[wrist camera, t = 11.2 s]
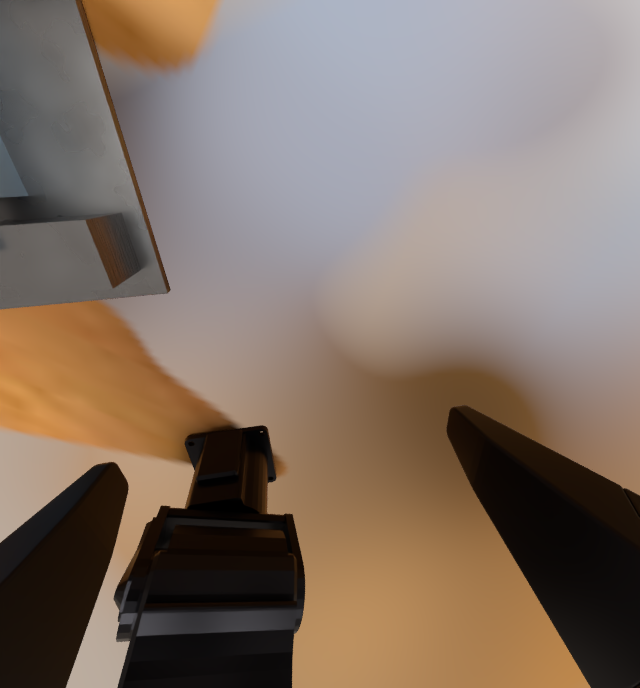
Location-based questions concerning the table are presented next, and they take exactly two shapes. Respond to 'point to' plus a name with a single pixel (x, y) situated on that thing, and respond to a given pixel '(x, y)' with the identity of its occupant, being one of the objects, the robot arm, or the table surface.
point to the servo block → (9, 176)
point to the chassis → (66, 168)
